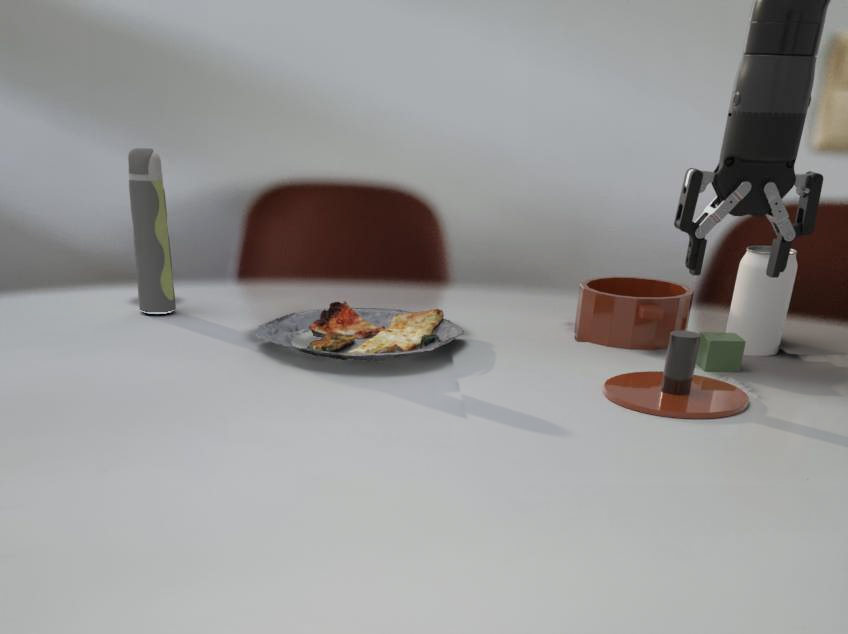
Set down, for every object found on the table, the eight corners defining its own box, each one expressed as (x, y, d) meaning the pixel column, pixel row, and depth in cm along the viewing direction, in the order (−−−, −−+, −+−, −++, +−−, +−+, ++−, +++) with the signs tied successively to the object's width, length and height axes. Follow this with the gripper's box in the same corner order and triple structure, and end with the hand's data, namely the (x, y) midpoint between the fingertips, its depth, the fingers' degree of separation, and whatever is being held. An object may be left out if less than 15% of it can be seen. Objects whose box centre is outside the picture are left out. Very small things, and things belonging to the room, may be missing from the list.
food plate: (325, 315, 133) (325, 288, 131) (486, 336, 124) (488, 308, 123) (224, 357, 114) (222, 326, 112) (406, 386, 105) (408, 353, 103)
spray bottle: (182, 310, 134) (169, 148, 124) (165, 317, 130) (151, 150, 120) (150, 307, 135) (135, 146, 125) (133, 314, 131) (116, 149, 121)
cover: (721, 383, 108) (735, 318, 105) (766, 426, 96) (783, 354, 92) (590, 380, 108) (599, 316, 105) (618, 423, 96) (629, 351, 92)
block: (727, 367, 114) (734, 332, 112) (738, 377, 110) (746, 341, 108) (693, 366, 114) (700, 331, 112) (703, 376, 110) (710, 340, 108)
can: (785, 353, 120) (810, 250, 114) (763, 363, 116) (787, 256, 109) (735, 343, 123) (756, 243, 117) (712, 353, 119) (733, 249, 113)
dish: (663, 323, 132) (671, 273, 129) (702, 361, 116) (713, 304, 113) (563, 321, 132) (569, 271, 129) (588, 359, 116) (596, 302, 113)
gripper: (824, 107, 102) (785, 271, 110) (688, 103, 102) (659, 267, 110) (853, 111, 95) (810, 284, 104) (708, 106, 95) (676, 280, 104)
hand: (732, 275), depth 107 cm, fingers open, 8 cm apart
